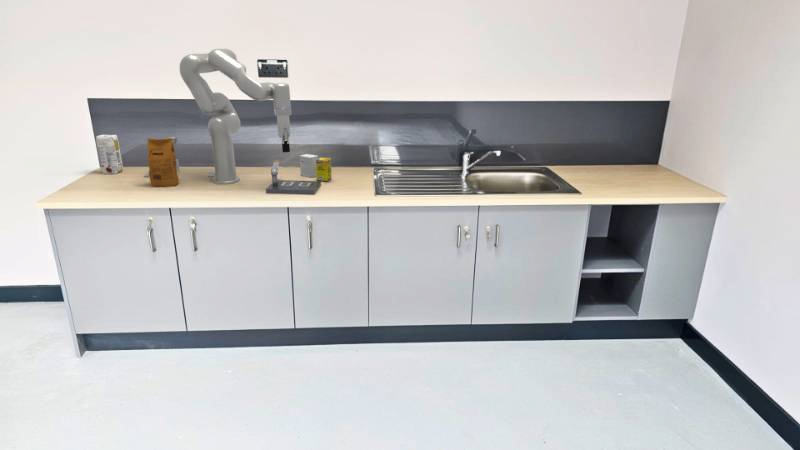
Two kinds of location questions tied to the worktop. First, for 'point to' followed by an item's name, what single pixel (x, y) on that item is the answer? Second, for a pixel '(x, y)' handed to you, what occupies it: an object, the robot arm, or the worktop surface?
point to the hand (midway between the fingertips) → (286, 151)
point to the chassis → (293, 187)
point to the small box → (308, 165)
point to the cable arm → (275, 167)
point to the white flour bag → (109, 154)
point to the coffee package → (162, 162)
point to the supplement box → (323, 169)
